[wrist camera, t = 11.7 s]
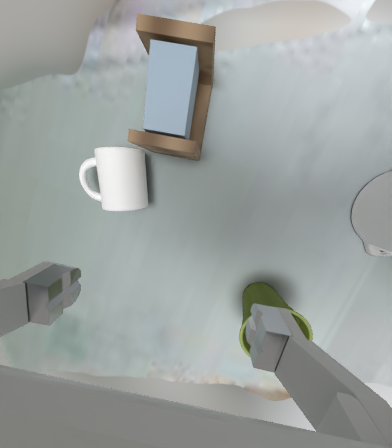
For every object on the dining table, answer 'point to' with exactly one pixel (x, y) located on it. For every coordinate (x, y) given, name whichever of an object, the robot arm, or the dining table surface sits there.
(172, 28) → the stand
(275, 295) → the plant pot
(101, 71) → the dining table surface
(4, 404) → the robot arm
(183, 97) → the light blue block
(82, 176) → the mug
